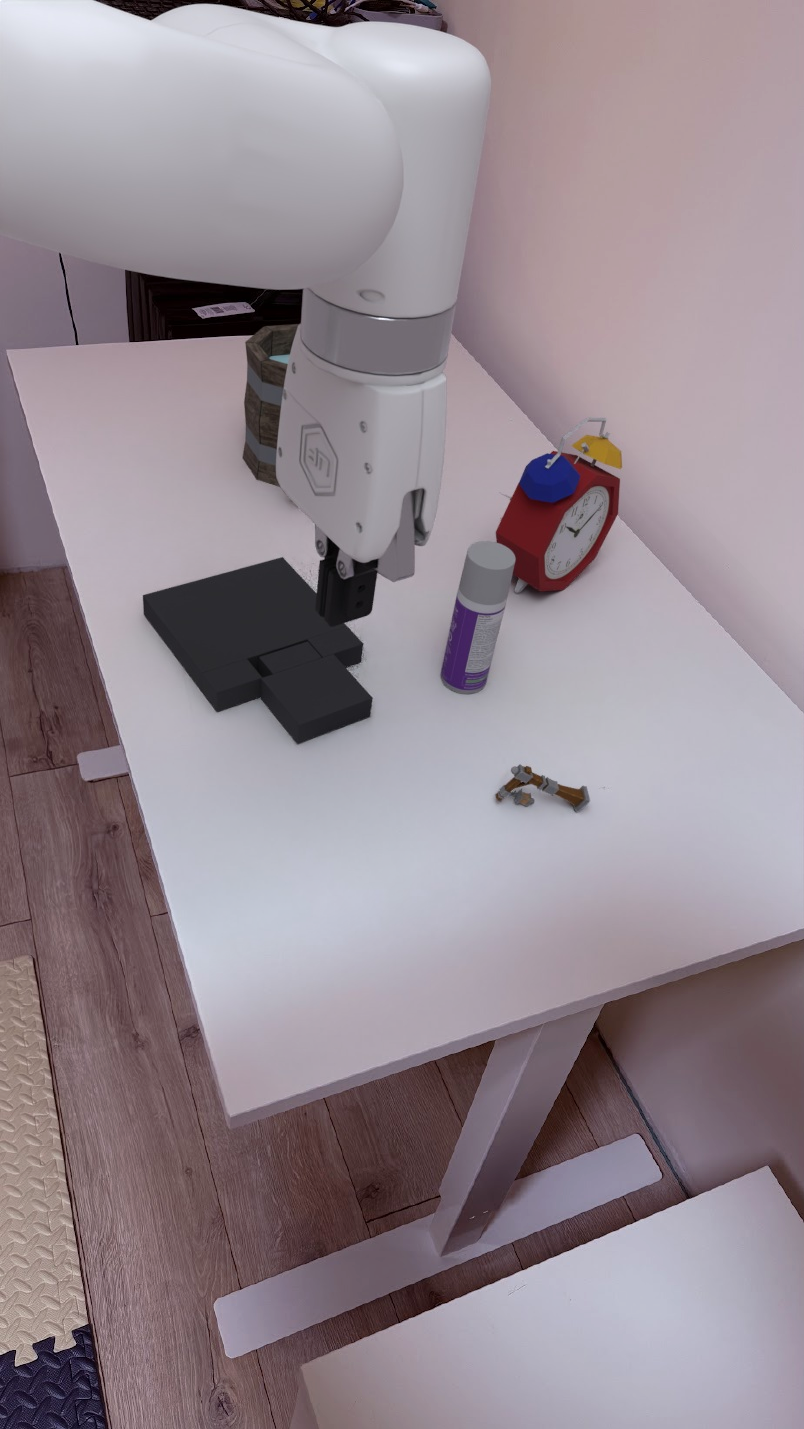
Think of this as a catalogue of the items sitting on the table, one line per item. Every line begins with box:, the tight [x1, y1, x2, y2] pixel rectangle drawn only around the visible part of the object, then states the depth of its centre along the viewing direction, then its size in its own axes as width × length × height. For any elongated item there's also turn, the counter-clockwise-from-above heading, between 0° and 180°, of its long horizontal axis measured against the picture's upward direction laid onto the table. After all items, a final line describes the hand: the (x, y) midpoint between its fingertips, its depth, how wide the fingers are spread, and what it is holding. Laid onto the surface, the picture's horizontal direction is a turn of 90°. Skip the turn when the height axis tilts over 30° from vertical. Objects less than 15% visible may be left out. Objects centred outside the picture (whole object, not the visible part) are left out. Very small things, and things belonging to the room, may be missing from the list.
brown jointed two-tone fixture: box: [494, 763, 591, 813], centre depth 90 cm, size 2×8×4 cm, turn 94°
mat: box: [142, 556, 364, 713], centre depth 101 cm, size 16×16×2 cm
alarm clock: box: [495, 417, 623, 594], centre depth 110 cm, size 15×9×20 cm, turn 136°
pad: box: [258, 642, 374, 745], centre depth 96 cm, size 8×10×2 cm
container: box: [440, 540, 516, 695], centre depth 97 cm, size 5×5×15 cm
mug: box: [242, 323, 300, 488], centre depth 120 cm, size 20×14×15 cm
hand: (343, 613), depth 63 cm, fingers closed
